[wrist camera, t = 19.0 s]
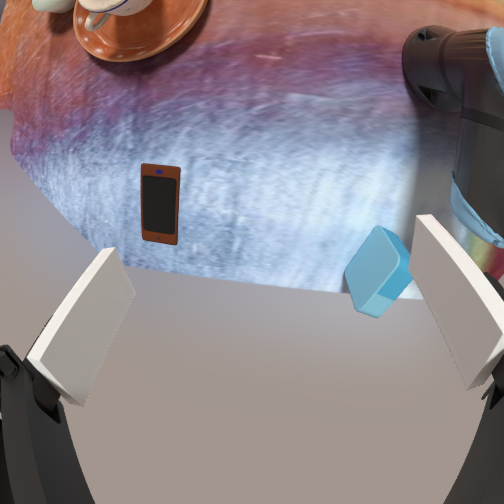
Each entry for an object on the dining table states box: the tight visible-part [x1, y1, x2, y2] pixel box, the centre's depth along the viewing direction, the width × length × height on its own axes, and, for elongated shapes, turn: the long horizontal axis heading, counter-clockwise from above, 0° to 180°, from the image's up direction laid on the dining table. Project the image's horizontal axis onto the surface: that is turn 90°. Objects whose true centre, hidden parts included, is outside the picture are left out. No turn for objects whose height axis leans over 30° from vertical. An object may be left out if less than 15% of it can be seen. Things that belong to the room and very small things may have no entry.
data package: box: [345, 226, 413, 318], centre depth 47 cm, size 12×4×12 cm, turn 156°
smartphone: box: [141, 163, 181, 245], centre depth 49 cm, size 7×1×15 cm
